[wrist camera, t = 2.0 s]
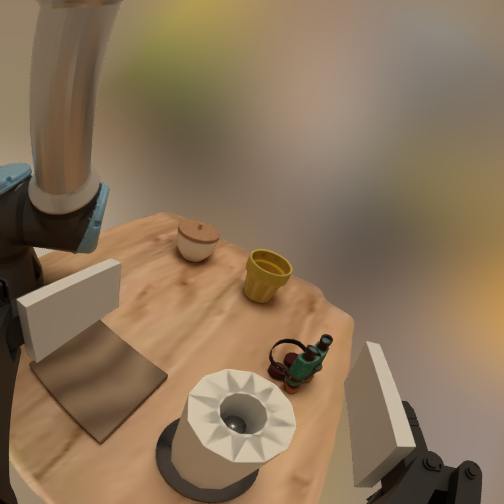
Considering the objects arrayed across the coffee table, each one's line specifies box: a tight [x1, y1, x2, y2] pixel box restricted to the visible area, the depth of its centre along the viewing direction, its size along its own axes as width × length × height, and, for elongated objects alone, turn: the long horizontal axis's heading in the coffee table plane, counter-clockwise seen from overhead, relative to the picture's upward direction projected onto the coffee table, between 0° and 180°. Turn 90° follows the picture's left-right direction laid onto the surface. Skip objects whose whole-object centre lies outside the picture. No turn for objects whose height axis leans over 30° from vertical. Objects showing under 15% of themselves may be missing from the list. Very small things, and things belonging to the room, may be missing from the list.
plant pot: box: [244, 249, 292, 303], centre depth 64 cm, size 10×10×10 cm
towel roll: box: [171, 369, 297, 489], centre depth 25 cm, size 10×10×15 cm
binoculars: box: [268, 334, 333, 394], centre depth 45 cm, size 9×11×10 cm
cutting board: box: [29, 320, 168, 444], centre depth 33 cm, size 16×16×1 cm
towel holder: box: [156, 415, 259, 503], centre depth 26 cm, size 14×14×13 cm
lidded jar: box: [177, 220, 220, 262], centre depth 69 cm, size 11×11×9 cm
